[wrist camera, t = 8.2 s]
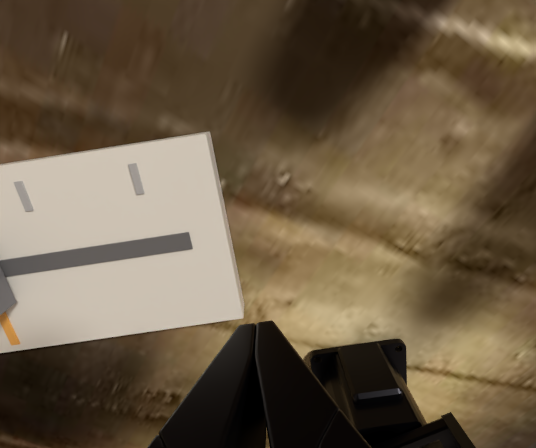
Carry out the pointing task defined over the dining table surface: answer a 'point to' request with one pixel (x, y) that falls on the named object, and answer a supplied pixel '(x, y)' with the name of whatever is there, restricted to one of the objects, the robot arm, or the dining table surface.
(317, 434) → the robot arm
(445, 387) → the dining table surface
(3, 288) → the fader
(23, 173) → the console
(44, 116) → the dining table surface
